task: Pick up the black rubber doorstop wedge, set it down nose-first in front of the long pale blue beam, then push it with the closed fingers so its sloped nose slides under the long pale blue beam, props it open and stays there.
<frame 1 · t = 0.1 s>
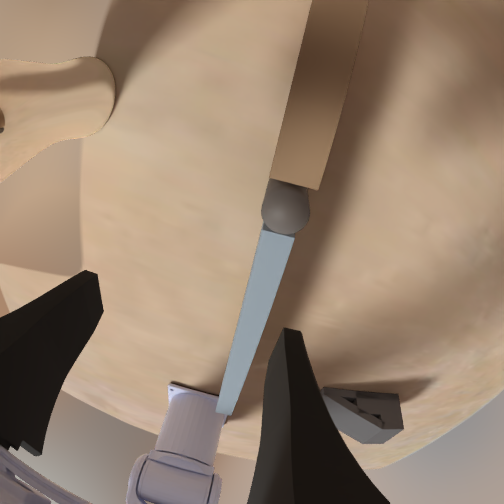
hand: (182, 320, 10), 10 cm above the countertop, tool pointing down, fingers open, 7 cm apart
long pale blue beam: (244, 338, 20), point 4 cm above the countertop, hinge at 0.0°
beer glass: (84, 96, 15), on the countertop
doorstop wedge: (354, 400, 29), on the countertop
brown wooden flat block: (288, 172, 17), on the countertop
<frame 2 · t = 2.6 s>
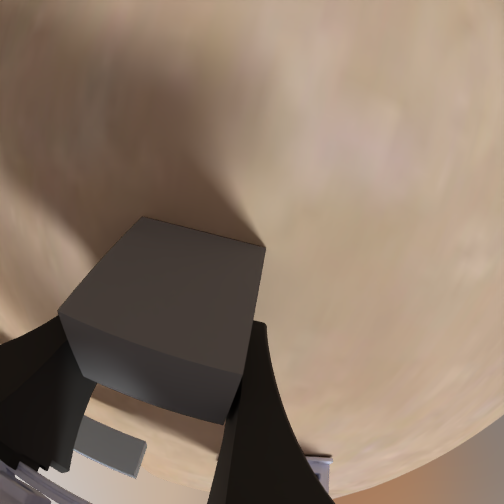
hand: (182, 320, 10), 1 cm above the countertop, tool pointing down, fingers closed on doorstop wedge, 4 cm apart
long pale blue beam: (47, 415, 17), point 4 cm above the countertop, hinge at 0.0°
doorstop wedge: (189, 327, 12), on the countertop, touching gripper
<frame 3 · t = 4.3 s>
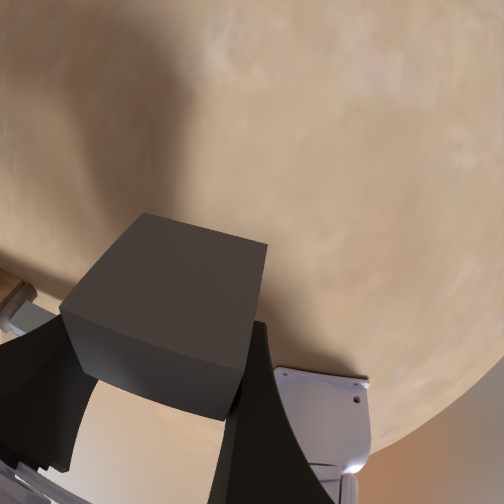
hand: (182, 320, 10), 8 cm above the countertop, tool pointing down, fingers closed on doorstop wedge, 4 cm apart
long pale blue beam: (89, 351, 21), point 4 cm above the countertop, hinge at 0.0°
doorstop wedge: (191, 324, 12), point 7 cm above the countertop, touching gripper
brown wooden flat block: (31, 290, 25), on the countertop
when the fingers open (2 cm above the countertop, at t = 6.2 s): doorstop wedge stays where it is, on the countertop.
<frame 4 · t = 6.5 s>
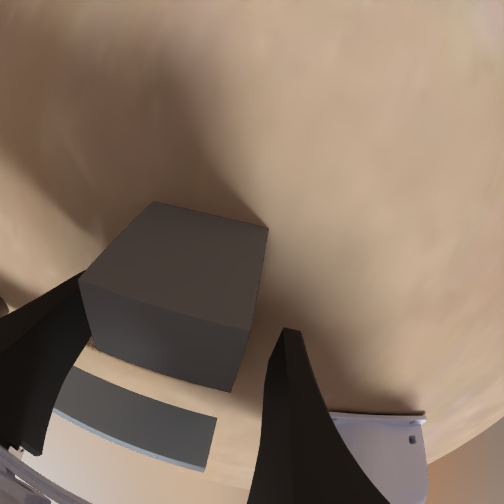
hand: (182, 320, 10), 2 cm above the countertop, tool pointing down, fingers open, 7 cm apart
long pale blue beam: (71, 393, 14), point 4 cm above the countertop, hinge at 0.0°
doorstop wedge: (196, 309, 13), on the countertop
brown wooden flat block: (1, 303, 17), on the countertop
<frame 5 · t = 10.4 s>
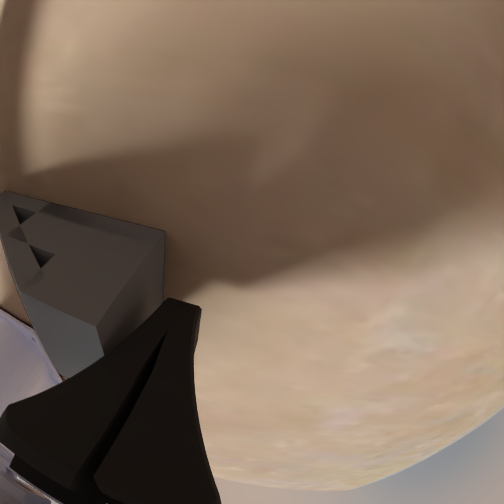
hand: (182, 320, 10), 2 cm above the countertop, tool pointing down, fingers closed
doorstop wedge: (71, 249, 12), on the countertop, touching gripper
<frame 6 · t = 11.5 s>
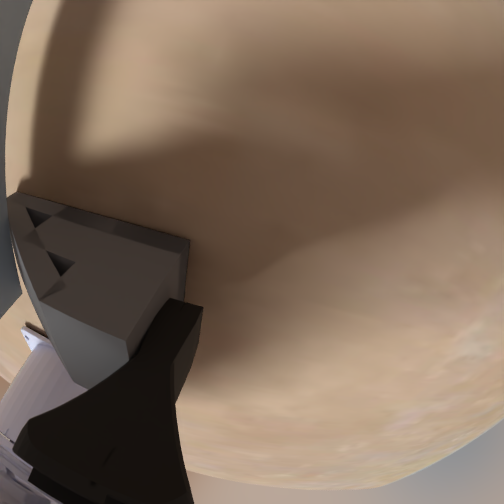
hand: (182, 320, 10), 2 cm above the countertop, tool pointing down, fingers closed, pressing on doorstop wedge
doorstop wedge: (87, 254, 12), on the countertop, touching long pale blue beam, gripper
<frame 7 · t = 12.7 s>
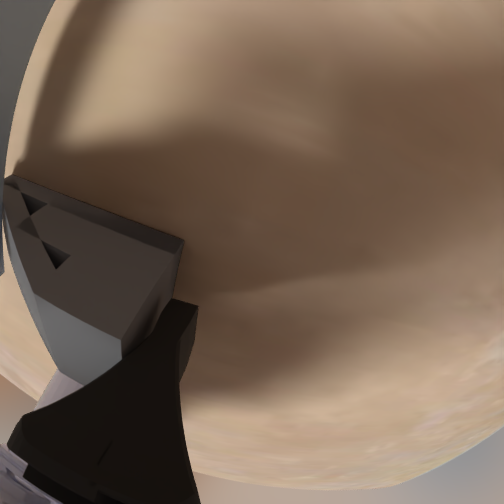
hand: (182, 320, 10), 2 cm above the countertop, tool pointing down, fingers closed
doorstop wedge: (78, 243, 12), on the countertop, touching long pale blue beam, gripper
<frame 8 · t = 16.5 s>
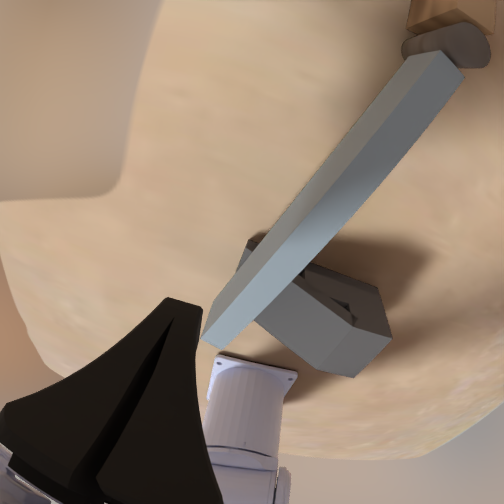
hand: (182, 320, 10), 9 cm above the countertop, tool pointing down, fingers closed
long pale blue beam: (313, 213, 13), point 4 cm above the countertop, hinge at 20.6°, touching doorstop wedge
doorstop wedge: (304, 289, 20), on the countertop, touching long pale blue beam
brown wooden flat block: (417, 53, 11), on the countertop
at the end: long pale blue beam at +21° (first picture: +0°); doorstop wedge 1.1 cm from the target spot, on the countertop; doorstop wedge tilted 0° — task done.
